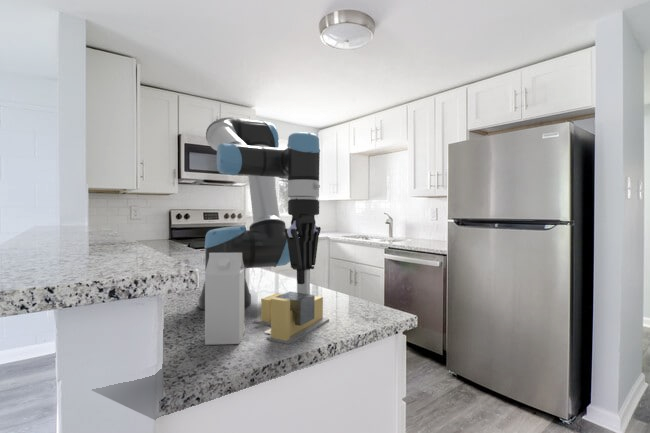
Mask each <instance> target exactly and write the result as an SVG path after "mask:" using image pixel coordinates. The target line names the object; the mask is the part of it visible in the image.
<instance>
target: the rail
mask: <svg viewBox="0 0 650 433" xmlns="http://www.w3.org/2000/svg"><path fill="white" fill-rule="evenodd" d="M323 309H324V297H323V296H318V295H315V305H314V319H313V320H311V321H309V322H307V323H305V324H303V325H301V326H298V325H295V311H290V300H289V299H283V298H276V297H275V298H272V299H271V326H270V329H271V334H268V335H267V336H266V340H269V341H273V342H276V343H280V344H286V345H292V343H294V342H296V341H298V340H299V339H301V338H303V337H305V336H307V335H308V334H310V333H311V332H313V331H314V330H316V329H318V328H320V327H321V326H323V325H324V324H326V323H328V322H329V321H330V319H329V318H327V317H323V316H324V310H323Z"/></svg>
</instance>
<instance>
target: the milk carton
mask: <svg viewBox="0 0 650 433" xmlns="http://www.w3.org/2000/svg"><path fill="white" fill-rule="evenodd" d="M204 282H205V310H204V344H205V345H206V346H207V345H213V346H214V345H239V344H240V343H241V341H242V338H243V335H244V333H245V308H244V263H243V259H242V253H209V260H208V264H207V268H206V272H205V271H204Z"/></svg>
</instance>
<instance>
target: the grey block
mask: <svg viewBox="0 0 650 433" xmlns="http://www.w3.org/2000/svg"><path fill="white" fill-rule="evenodd" d="M281 294H282V295H279V296H276V298H283V299H289V300H290V311H295V325H298V326H301V325H303V324H305V323H307V322H309V321H311V320H313V319H314V305H315V296H316V295H315V294H311V293H310V294H303V293H297V291H296V292H295V291H288V292H285V293H281Z"/></svg>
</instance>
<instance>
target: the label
mask: <svg viewBox="0 0 650 433" xmlns="http://www.w3.org/2000/svg"><path fill="white" fill-rule="evenodd" d="M263 334H268V335H271V328H269V329H267V330H265V331H264V332H263Z"/></svg>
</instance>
